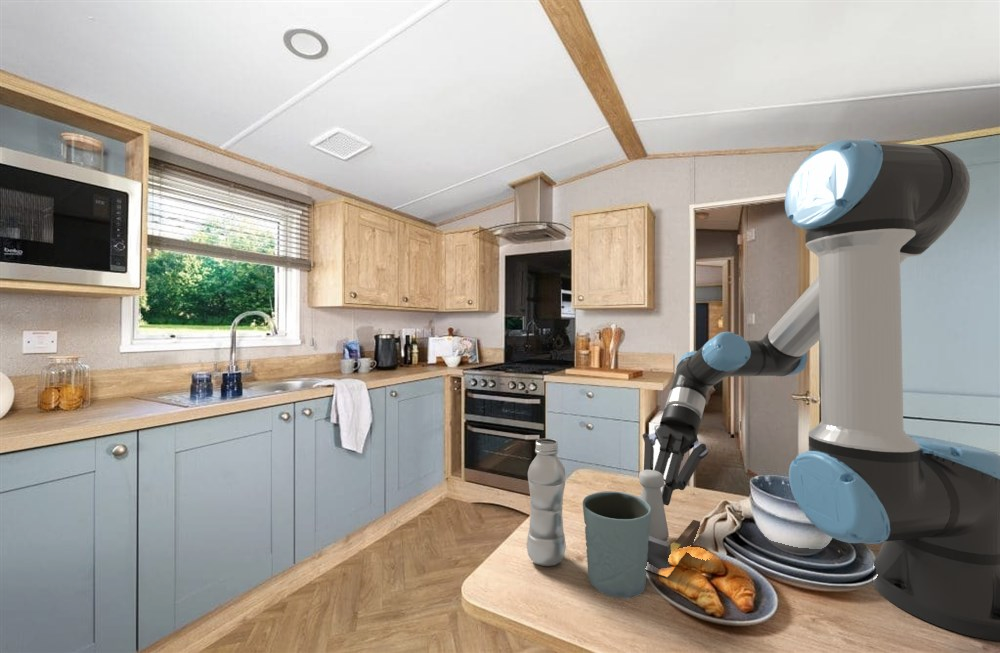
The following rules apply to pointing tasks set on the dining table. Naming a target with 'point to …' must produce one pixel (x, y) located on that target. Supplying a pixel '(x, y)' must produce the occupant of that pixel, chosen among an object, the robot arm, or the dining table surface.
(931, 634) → the dining table surface
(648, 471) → the salt shaker
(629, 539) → the green cup
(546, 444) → the plastic bottle
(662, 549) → the dark grey angled piece
